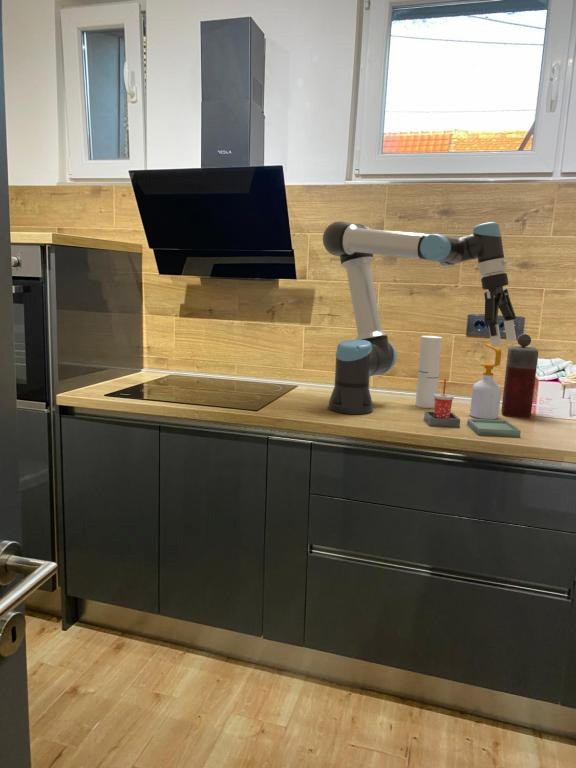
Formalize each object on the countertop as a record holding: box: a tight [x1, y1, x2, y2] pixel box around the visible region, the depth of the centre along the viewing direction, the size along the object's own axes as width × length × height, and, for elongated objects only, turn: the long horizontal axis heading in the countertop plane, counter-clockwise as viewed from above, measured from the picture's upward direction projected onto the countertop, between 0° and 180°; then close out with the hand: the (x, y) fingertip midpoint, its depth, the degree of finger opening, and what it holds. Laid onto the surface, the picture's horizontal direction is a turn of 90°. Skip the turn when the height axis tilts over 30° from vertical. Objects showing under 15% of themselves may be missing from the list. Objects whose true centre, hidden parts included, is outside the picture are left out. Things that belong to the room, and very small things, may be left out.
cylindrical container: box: [415, 335, 443, 409], centre depth 203 cm, size 7×7×25 cm
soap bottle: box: [469, 343, 502, 420], centre depth 190 cm, size 9×9×25 cm
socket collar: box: [423, 410, 461, 428], centre depth 180 cm, size 9×9×2 cm
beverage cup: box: [433, 379, 455, 418], centre depth 179 cm, size 6×6×14 cm
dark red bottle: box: [501, 333, 539, 419], centre depth 196 cm, size 9×11×28 cm
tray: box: [466, 418, 521, 438], centre depth 173 cm, size 12×12×2 cm
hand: (504, 343), depth 174 cm, fingers open, 13 cm apart
